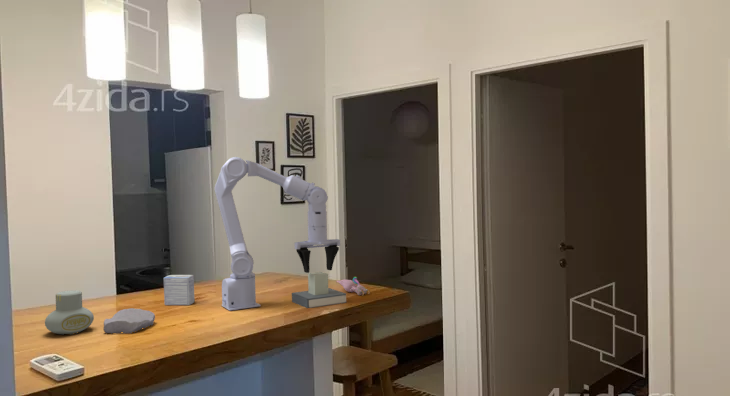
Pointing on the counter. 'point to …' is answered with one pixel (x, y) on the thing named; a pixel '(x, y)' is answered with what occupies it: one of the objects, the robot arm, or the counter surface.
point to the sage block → (318, 283)
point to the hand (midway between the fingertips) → (318, 271)
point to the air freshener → (69, 314)
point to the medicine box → (179, 290)
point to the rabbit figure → (353, 286)
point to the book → (318, 298)
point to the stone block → (129, 321)
